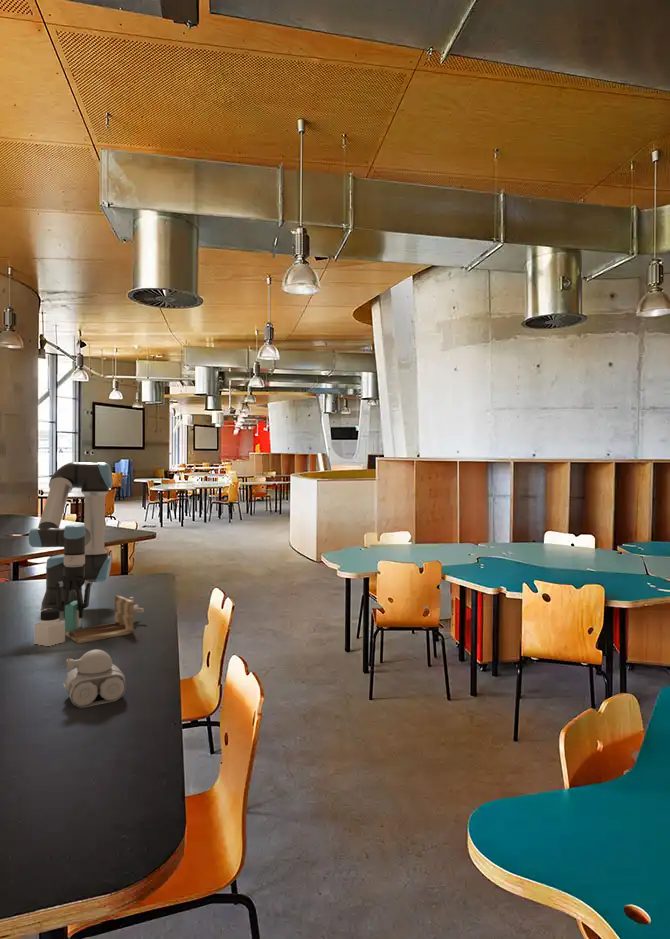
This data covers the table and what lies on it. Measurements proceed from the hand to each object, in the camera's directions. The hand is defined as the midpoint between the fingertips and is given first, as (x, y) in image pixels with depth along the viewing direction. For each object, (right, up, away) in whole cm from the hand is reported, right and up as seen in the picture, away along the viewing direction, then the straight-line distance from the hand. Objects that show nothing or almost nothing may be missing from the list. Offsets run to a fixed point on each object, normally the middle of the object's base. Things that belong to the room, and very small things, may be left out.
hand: (73, 626), depth 223 cm
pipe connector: (+18, -2, +11) cm, 21 cm away
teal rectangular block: (0, -1, 0) cm, 1 cm away
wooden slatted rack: (+12, -1, -6) cm, 14 cm away
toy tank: (+36, -2, -67) cm, 76 cm away
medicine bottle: (0, -1, -18) cm, 18 cm away
